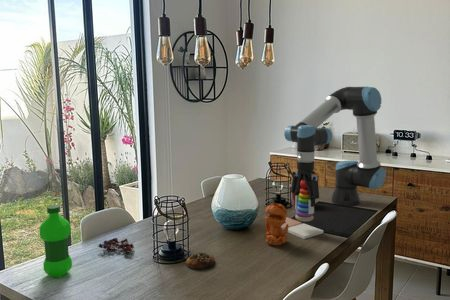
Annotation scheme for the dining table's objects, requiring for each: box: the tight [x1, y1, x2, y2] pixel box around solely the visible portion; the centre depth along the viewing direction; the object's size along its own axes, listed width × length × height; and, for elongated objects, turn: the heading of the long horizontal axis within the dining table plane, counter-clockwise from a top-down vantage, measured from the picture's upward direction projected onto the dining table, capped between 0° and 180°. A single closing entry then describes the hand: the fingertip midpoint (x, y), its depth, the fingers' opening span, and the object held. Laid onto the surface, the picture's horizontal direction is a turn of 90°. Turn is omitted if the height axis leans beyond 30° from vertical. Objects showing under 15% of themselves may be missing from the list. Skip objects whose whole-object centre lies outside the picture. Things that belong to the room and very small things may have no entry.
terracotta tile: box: [264, 216, 303, 231], centre depth 205 cm, size 12×12×1 cm
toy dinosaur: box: [263, 201, 289, 246], centre depth 181 cm, size 11×11×18 cm
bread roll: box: [185, 252, 216, 270], centre depth 162 cm, size 11×11×5 cm
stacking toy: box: [294, 180, 314, 222], centre depth 192 cm, size 8×8×19 cm
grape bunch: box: [98, 237, 135, 256], centre depth 176 cm, size 15×14×5 cm
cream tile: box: [287, 223, 324, 240], centre depth 195 cm, size 12×12×1 cm
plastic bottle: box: [39, 204, 73, 278], centre depth 153 cm, size 10×10×25 cm
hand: (304, 211), depth 193 cm, fingers closed on stacking toy, 7 cm apart
